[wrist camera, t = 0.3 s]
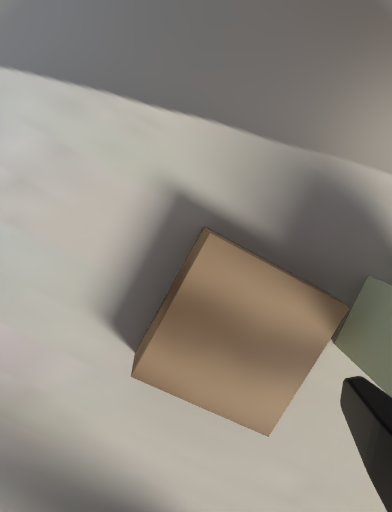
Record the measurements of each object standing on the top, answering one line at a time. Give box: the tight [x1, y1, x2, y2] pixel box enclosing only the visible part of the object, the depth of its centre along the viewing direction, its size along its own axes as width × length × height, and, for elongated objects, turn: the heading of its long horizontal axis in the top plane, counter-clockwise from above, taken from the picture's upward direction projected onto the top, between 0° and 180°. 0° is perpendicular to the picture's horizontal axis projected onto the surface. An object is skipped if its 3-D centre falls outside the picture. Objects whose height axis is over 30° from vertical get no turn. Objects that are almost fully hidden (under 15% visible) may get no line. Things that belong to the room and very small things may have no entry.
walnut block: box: [131, 227, 350, 437], centre depth 24 cm, size 10×10×4 cm
